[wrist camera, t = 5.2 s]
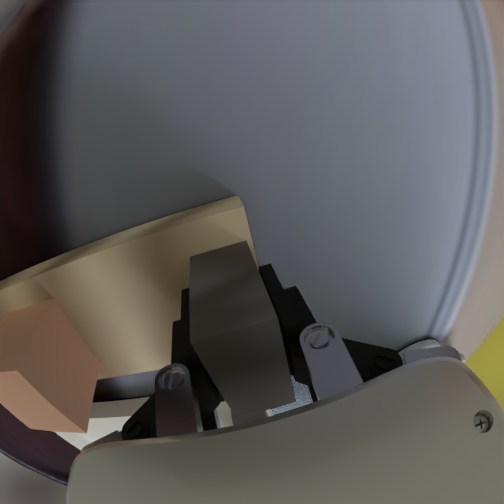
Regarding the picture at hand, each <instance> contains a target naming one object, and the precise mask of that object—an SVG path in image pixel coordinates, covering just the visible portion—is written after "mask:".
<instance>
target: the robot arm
mask: <svg viewBox="0 0 504 504" xmlns="http://www.w3.org/2000/svg"><path fill="white" fill-rule="evenodd" d="M259 273H260V275H261V278H262V280H263V283H264V285H265V288H266V290H267V293H268V295H269V298H270V300H271V303H272V305H273V307H274V310H275V312H276V315H277V317H278V322H279V326H280V331H281V335H282V340H283V344H284V349H285V353H286V358H287V362H288V367H289V372H290V376H291V375H293V376H294V379H295V381H298V382H299V383H302V384H305V385H307V389H308V392H309V395H310V398H311V401H312V403H311V404H308V405H305V406H302V407H299V408H296V409H293V410H289V411H286V412H283V413H280V414H276V415H273V416H269V417H265V418H262V419H258V420H254V421H250V422H246V423H242V424H237V425H233V426H228V427H223V428H221V426H220V422H219V417H218V412H217V410H216V408H217V407H218V406H219V404H220V402H224V401H225V400H224V398H223V396H222V395H221V393H220V392H219V390H218V389H217V387H216V385H215V384H214V382H213V380H212V379H211V377H210V375H209V374H208V372H207V370H206V369H205V367H204V365H203V364H202V362H201V360H200V358H199V357H198V355H197V353H196V351H195V350H194V348H193V346H192V344H191V343H190V310H189V288H186V289H182V294H181V320H177V321H174V322H173V326H172V347H171V364H170V365H167V366H165V367H164V368H162V369H161V370H160V371H159V372H158V374H157V376H156V378H155V393H154V394H153V395H152V396H151V397H150V398H149V399H148V400H147V401H146V402H145V403H144V404H143V405H142V406H141V407H140V408H139V409H138V410H137V411H136V412H135V413H134V414H133V415H132V416H131V417H130V418H129V419H128V420H127V421H126V422H125V424H124V425H123V427H122V431H120V432H119V431H118V430H116V431H114V432H112V433H110V434H108V435H106V436H104V437H102V438H100V439H98V440H96V441H94V442H92V443H90V444H88V445H86V446H85V447H83V449H82V450H81V452H80V454H79V455H78V456H77V457H76V458H75V460H74V461H73V463H72V466H71V470H70V474H69V479H68V487H67V502H66V504H504V411H503V410H502V408H501V407H500V405H499V404H498V402H497V401H496V399H495V398H494V396H493V395H492V394H491V393H490V391H489V390H488V388H487V387H486V386H485V385H484V384H483V382H482V381H481V380H480V379H479V378H478V376H477V375H476V374H475V373H474V372H473V371H472V370H471V369H470V368H469V367H468V366H467V365H465V363H464V362H465V357H464V356H463V354H461V353H459V352H458V351H457V350H456V349H455V348H453V347H451V346H441V345H440V344H439V343H438V341H436V340H433V339H428V340H423V341H420V342H417V343H415V344H412V345H410V346H409V347H407V348H405V349H403V350H401V351H400V352H398V353H397V352H396V351H394V350H392V349H389V348H384V347H379V346H375V345H370V344H365V343H361V342H357V341H352V340H348V339H344V338H341V336H340V334H339V333H338V331H337V329H336V328H335V327H334V326H332V325H330V324H327V323H317V322H316V320H315V319H314V317H313V315H312V313H311V311H310V310H309V308H308V306H307V304H306V303H305V301H304V299H303V297H302V295H301V294H300V292H299V290H298V288H297V287H296V286H293V287H290V288H287V289H284V290H283V288H282V286H281V284H280V282H279V280H278V278H277V276H276V274H275V272H274V270H273V268H272V265H271V264H267V265H264V266H261V267H259Z"/></svg>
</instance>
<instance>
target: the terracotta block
mask: <svg viewBox="0 0 504 504" xmlns="http://www.w3.org/2000/svg"><path fill="white" fill-rule="evenodd" d="M100 365H101V362H100V361H99V359H98V358H97V357H96V356H95V354H94V353H93V352H92V351H91V349H90V348H89V347H88V346H87V344H86V343H85V342H84V340H83V339H82V338H81V336H80V335H79V334H78V332H77V331H76V330H75V328H74V327H73V325H72V324H71V322H70V321H69V320H68V318H67V317H66V315H65V314H64V312H63V311H62V309H61V308H60V306H59V305H58V303H57V301H56V300H55V298H53V299H50V300H47V301H44V302H41V303H38V304H35V305H32V306H29V307H25V308H22V309H19V310H16V311H13V312H10V313H7V314H5V315H4V316H3V318H2V319H1V321H0V403H1V404H2V405H3V406H4V407H5V408H6V409H8V410H9V411H10V412H11V413H12V414H13V415H14V416H16V417H17V418H18V419H19V420H20V421H21V422H23V423H24V424H25V425H26V426H28V427H29V428H30V429H37V430H46V431H56V432H70V433H87V430H88V424H89V418H90V412H91V406H92V401H93V396H94V391H95V387H96V382H97V378H98V373H99V369H100Z"/></svg>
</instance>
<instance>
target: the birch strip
mask: <svg viewBox="0 0 504 504" xmlns="http://www.w3.org/2000/svg"><path fill="white" fill-rule="evenodd" d="M186 288H189V310H190V343H191V344H192V346H193V348H194V350H195V351H196V353H197V355H198V357H199V358H200V360H201V362H202V364H203V365H204V367H205V369H206V370H207V372H208V374H209V375H210V377H211V379H212V380H213V382H214V384H215V385H216V387H217V389H218V390H219V392H220V393H221V395H222V396H223V398H224V400H225V401H226V403H227V404H228V406H229V407H230V409H231V410H232V412H233V413H234V415H235V416H236V418H237V417H241V416H246V415H250V414H254V413H258V412H261V411H265V410H269V409H272V408H276V407H279V406H282V405H286V404H289V403H292V402H295V401H296V400H295V395H294V390H293V386H292V381H291V376H290V372H289V367H288V362H287V358H286V353H285V349H284V344H283V340H282V335H281V331H280V326H279V322H278V317H277V315H276V312H275V310H274V307H273V305H272V303H271V300H270V298H269V295H268V293H267V290H266V288H265V285H264V283H263V280H262V278H261V275H260V273H259V265H258V261H257V257H256V253H255V249H254V245H253V241H252V237H251V233H250V229H249V225H248V221H247V217H246V213H245V209H244V205H243V204H242V202H241V200H240V198H239V196H238V195H236V196H233V197H229V198H226V199H222V200H219V201H215V202H212V203H208V204H205V205H202V206H198V207H195V208H192V209H188V210H185V211H182V212H179V213H176V214H172V215H169V216H166V217H163V218H160V219H157V220H154V221H151V222H148V223H145V224H142V225H139V226H136V227H133V228H130V229H127V230H125V231H122V232H119V233H116V234H113V235H111V236H108V237H105V238H102V239H100V240H97V241H94V242H92V243H89V244H86V245H84V246H81V247H79V248H76V249H74V250H71V251H69V252H66V253H64V254H61V255H59V256H56V257H54V258H51V259H49V260H47V261H44V262H42V263H39V264H37V265H35V266H33V267H30V268H28V269H26V270H23V271H21V272H19V273H17V274H15V275H12V276H10V277H8V278H6V279H4V280H2V281H0V321H1V319H2V318H3V316H4V315H5V314H7V313H10V312H13V311H16V310H19V309H22V308H25V307H29V306H32V305H35V304H38V303H41V302H44V301H47V300H50V299H53V298H55V300H56V301H57V303H58V305H59V306H60V308H61V309H62V311H63V312H64V314H65V315H66V317H67V318H68V320H69V321H70V322H71V324H72V325H73V327H74V328H75V330H76V331H77V332H78V334H79V335H80V336H81V338H82V339H83V340H84V342H85V343H86V344H87V346H88V347H89V348H90V349H91V351H92V352H93V353H94V354H95V356H96V357H97V358H98V359H99V361H100V362H101V365H100V369H99V373H98V378H97V379H104V378H111V377H118V376H125V375H131V374H137V373H143V372H149V371H154V370H159V369H162V368H164V367H165V366H167V365H170V364H171V347H172V326H173V322H174V321H177V320H181V294H182V289H186Z"/></svg>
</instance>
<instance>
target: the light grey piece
mask: <svg viewBox="0 0 504 504" xmlns="http://www.w3.org/2000/svg"><path fill="white" fill-rule="evenodd" d="M149 398H150V397H144V398H137V399H128V400H119V401H108V402H95V403H92V406H91V412H90V418H89V424H88V430H87V433H70V432H56V431H54V432H55V433H57V434H58V435H59V436H61V437H62V438H63V439H65V440H66V441H68V442H69V443H71V444H72V445H74V446H75V447H77V448H78V449H80V450H82V449H83V447H85V446H86V445H88V444H90V443H92V442H94V441H96V440H98V439H100V438H102V437H104V436H106V435H108V434H110V433H112V432H114V431H116V430H118V431H119V432H120V431H122V427H123V425H124V424H125V422H126V421H127V420H128V419H129V418H130V417H131V416H132V415H133V414H134V413H135V412H136V411H137V410H138V409H139V408H140V407H141V406H142V405H143V404H144V403H145V402H146V401H147V400H148V399H149ZM216 410H217V412H218V417H219V422H220V426H221V428H223V427H228V426H233V425H237V424H242V423H246V422H250V421H254V420H258V419H262V418H265V417H269V416H273V412H272V410H271V409H269V410H265V411H261V412H258V413H254V414H250V415H246V416H241V417H237V418H236V416H235V415H234V413H233V412H232V410H231V409H230V407H229V406H228V404H227V403H226V401H224V402H220V404H219V406H218V407H217V408H216Z"/></svg>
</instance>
